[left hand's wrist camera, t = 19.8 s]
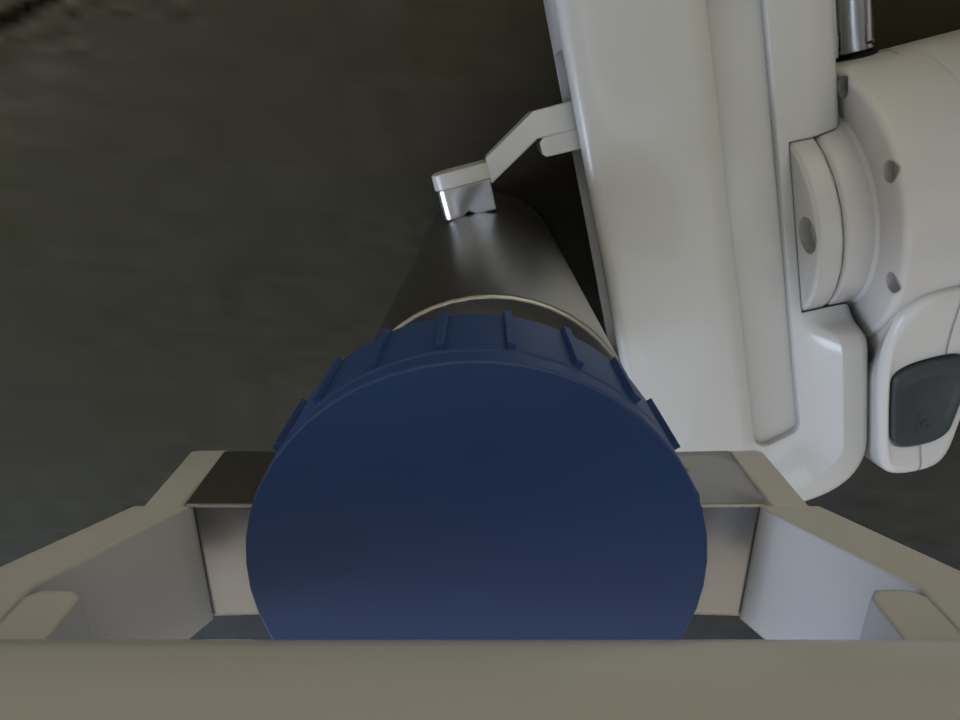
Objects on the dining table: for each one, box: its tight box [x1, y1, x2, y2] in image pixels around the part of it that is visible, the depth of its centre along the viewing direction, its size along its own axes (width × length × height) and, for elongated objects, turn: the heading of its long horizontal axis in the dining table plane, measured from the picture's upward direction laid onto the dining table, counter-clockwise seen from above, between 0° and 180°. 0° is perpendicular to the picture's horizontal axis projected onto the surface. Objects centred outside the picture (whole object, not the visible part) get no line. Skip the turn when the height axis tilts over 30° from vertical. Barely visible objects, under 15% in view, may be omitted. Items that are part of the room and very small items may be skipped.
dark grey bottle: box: [374, 192, 621, 363], centre depth 19 cm, size 5×5×18 cm
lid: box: [246, 310, 707, 640], centre depth 9 cm, size 6×6×2 cm
